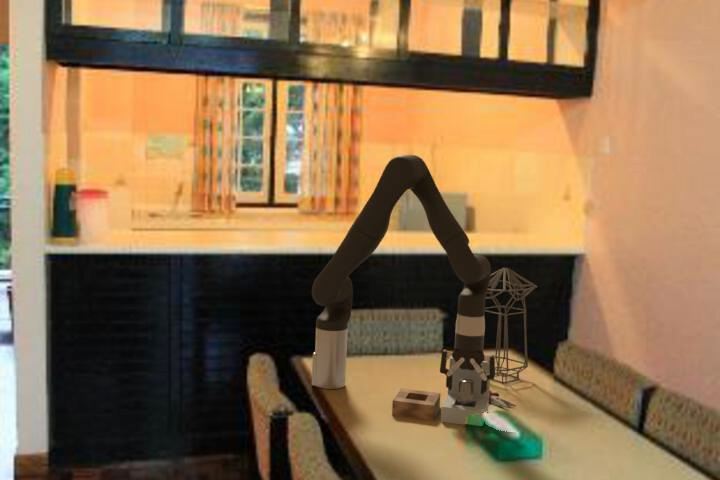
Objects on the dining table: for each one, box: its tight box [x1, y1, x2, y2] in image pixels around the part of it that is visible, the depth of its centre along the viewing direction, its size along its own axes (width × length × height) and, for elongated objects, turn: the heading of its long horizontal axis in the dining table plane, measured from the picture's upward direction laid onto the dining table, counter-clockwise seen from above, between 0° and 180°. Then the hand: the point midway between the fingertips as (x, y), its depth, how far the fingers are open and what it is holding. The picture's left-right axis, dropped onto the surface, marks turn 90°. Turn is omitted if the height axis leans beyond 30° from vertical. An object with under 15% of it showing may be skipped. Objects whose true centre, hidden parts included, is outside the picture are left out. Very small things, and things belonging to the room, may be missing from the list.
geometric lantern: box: [484, 267, 538, 384], centre depth 239 cm, size 16×16×35 cm
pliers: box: [489, 389, 517, 409], centre depth 220 cm, size 12×20×3 cm, turn 37°
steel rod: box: [457, 379, 474, 407], centre depth 203 cm, size 4×4×10 cm
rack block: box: [440, 356, 491, 426], centre depth 203 cm, size 11×12×14 cm
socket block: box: [391, 387, 441, 421], centre depth 207 cm, size 11×11×4 cm
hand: (466, 391), depth 203 cm, fingers open, 8 cm apart
